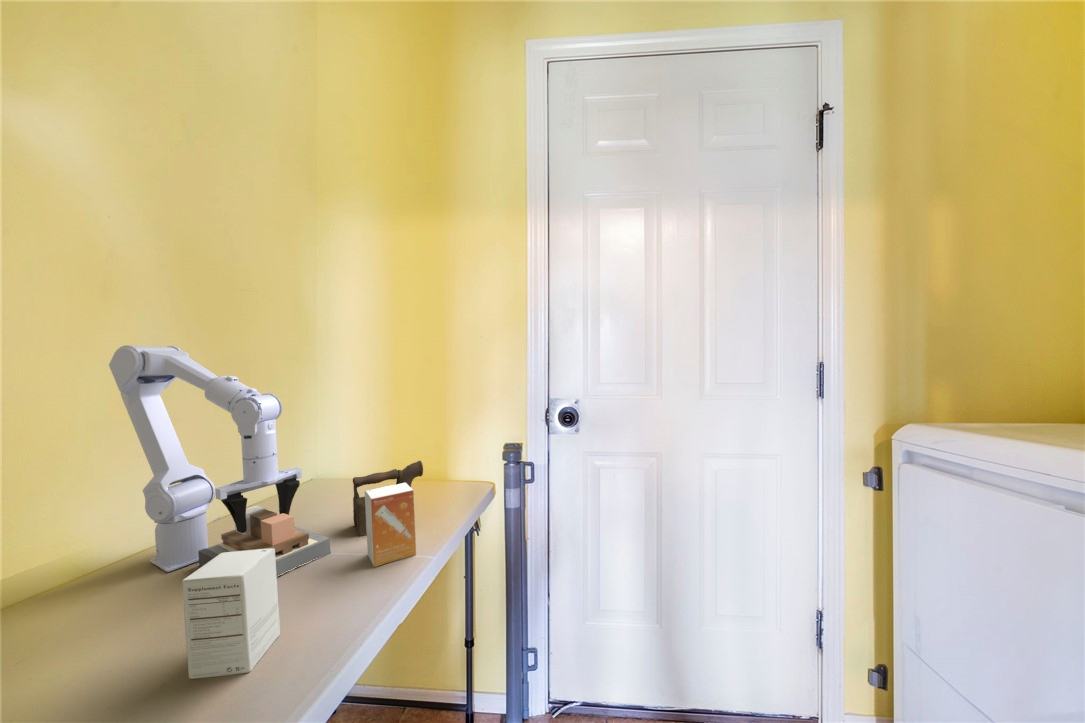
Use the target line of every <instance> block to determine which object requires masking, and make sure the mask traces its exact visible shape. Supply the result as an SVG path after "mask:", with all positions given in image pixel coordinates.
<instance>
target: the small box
mask: <svg viewBox="0 0 1085 723" xmlns="http://www.w3.org/2000/svg"><path fill="white" fill-rule="evenodd" d="M414 495H415V492H414V489H413V488H412V486H411V487H410V486H409V485H408V484H407V483H401V484H396V483H395V484H391V485H386V486H381V487H378V488H373V489H368V490H364V497H365V508H366V532H367V535H366V546H367V556H368V558H369V561H370V562H371V564H372V566H373V568H376V567H379V566H381V565H385V564H389V563H392V562H396V561H399V560H402V559H405V558H409V557H412V556H416V555H417V543H416V542H417V539H416V515H415V497H414Z"/></svg>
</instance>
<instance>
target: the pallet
mask: <svg viewBox="0 0 1085 723" xmlns="http://www.w3.org/2000/svg"><path fill="white" fill-rule="evenodd" d="M276 515H278V513H277V512H275V511H272V510H271V511H270V510H268V509H266V510H265V511H262V512H258V513H255V514H252V515H250V526H251V533H250V534H247V535H243V534H241V533H238V532H236V530H235V529H233V530H230V531H227V532H224V533H221V534H220V536H221V540H222V543H223V544H225V545H227V546H229V547H232V548H234V549H236V550H239V551H246V550H256V549H271V548H272V549H275V553H276V552H277V553H280V554H282V555H284V554H287V553H289V552H292V546H296V547H299V548H301V547H303V546H306V545H308V539H309V534H308V533H305V532H301V531H298V530H295V537H294V538H291V539H289V540H286V541H284V542H281V543H278V544H276V545H273V546H272V545H269V544H267V543H264V542H262V535H261V520H264V519H267V518H270V517H273V516H276Z"/></svg>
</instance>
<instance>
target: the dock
mask: <svg viewBox="0 0 1085 723" xmlns="http://www.w3.org/2000/svg"><path fill="white" fill-rule="evenodd" d="M295 530H298V531H301V532H305V533H308V534H309V539H308V545H306V546H303V547H301V548H299V547H296V546H292V552H289V553H287V554H284V555H282V554H280V553H277V552H276V553H275V560H276V576H278V575H280V574H282V573H284V572H286V571H288V570H291V569H293V568H295V567H298V566H299V565H302V564H304V563H307V562H309V561H311V560H313V559H316V558H319V557H321V558H323V557H325V556H327V555H330V554H331V538H330V537H327V536H324V535H321V534H318V533H314V532H311V531H309V530H306V529H302V528H299V527H296V526H295ZM235 551H239V550H236V549H234V548H232V547H229V546H227V545H225V544H223V542H221V543H218V544H214V545H213V546H210V547H209V546H208V548H205V549H202V550H199V551H198V555H199V561H198V567H199V568H201V567H202V566H204V565H205V564H207V563H208V562H209V561H211V560H212V559H214V558H215V557H216V556H218V555H219V554H221V553H224V552H235ZM326 554H327V555H326ZM324 555H325V556H324ZM322 556H323V557H322ZM319 559H320V558H319ZM316 560H317V559H316Z"/></svg>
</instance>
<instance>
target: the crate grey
mask: <svg viewBox="0 0 1085 723" xmlns="http://www.w3.org/2000/svg"><path fill="white" fill-rule="evenodd" d="M265 510H267V508H266V507H263V506H260V505H257V504H256V505H254V506H250V507H246V524H247V530H246V532H244V533H241V534H243V535H247V534H250V533H251V526H250V515H252V514H255V513H258V512H262V511H265ZM234 525H235V524H234ZM234 530H236V532H238V531H237V528H236V525H235V529H234ZM238 533H240V532H238Z"/></svg>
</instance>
